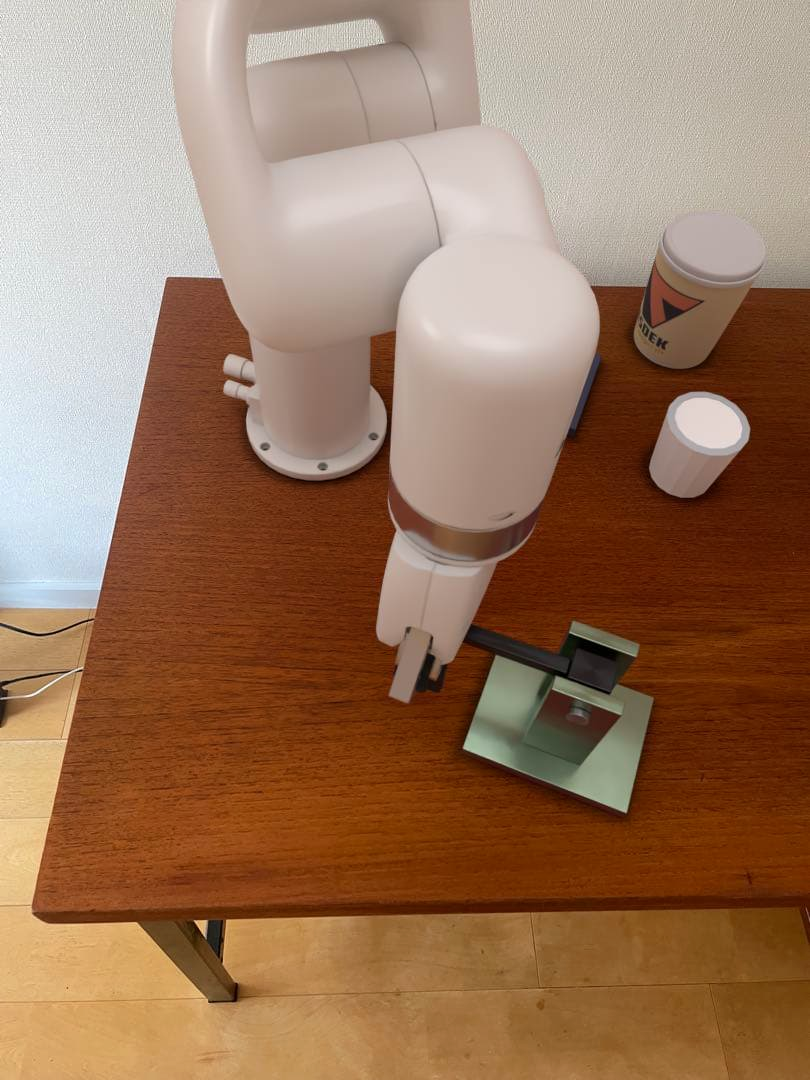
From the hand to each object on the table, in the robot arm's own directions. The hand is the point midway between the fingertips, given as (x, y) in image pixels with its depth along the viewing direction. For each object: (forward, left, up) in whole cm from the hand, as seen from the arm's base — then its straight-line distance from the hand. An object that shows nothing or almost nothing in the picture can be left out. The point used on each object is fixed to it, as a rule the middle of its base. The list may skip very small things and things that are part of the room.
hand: (436, 636), depth 54 cm
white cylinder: (+14, +27, -8) cm, 31 cm away
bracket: (+10, 0, -8) cm, 13 cm away
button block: (-2, +32, -8) cm, 33 cm away
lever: (+5, 0, +1) cm, 6 cm away
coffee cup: (+10, +43, -8) cm, 45 cm away
